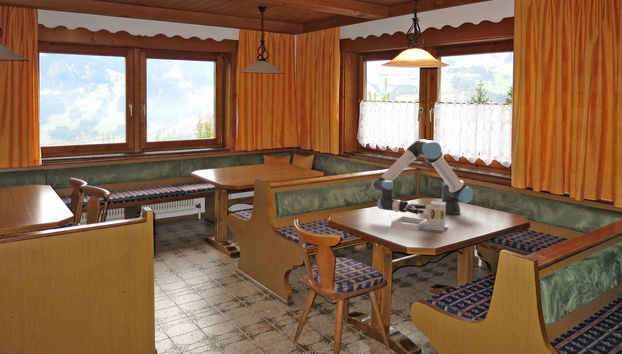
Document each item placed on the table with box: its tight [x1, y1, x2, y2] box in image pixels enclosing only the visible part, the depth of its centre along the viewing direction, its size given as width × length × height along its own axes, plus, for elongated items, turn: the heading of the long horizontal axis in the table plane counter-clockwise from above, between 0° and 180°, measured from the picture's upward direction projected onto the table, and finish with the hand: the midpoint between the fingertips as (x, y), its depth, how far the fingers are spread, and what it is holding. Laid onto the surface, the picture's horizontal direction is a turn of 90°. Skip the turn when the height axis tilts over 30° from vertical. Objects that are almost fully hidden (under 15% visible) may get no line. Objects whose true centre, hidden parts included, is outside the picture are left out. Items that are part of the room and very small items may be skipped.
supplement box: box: [428, 200, 446, 232], centre depth 337 cm, size 10×9×17 cm
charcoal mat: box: [419, 223, 449, 234], centre depth 339 cm, size 14×14×1 cm
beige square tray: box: [390, 215, 428, 231], centre depth 349 cm, size 19×18×3 cm
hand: (432, 210), depth 338 cm, fingers open, 13 cm apart
